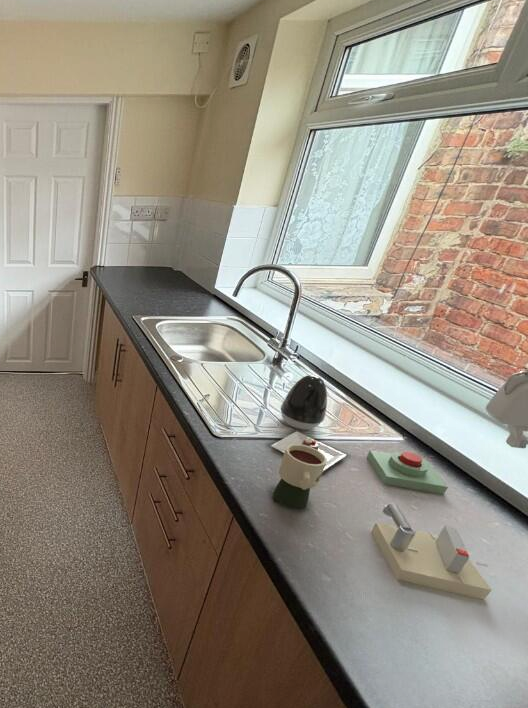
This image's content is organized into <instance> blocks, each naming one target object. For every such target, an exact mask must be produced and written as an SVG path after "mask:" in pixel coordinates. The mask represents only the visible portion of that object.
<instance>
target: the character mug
mask: <svg viewBox="0 0 528 708" xmlns="http://www.w3.org/2000/svg"><path fill="white" fill-rule="evenodd" d="M326 462H327V458H326V457H325V455H324V454H322V453H321V452H320V451H318V450H316V449H314V448H312V447H309V446H306V445H301V444H293V445H289V446H288V447H287V448H286V450H285V453H283V456H282V459H281V462H280V465H279V469H278V475H279V477H280V480H279V481H278V483H277V485H276V486H275V488H274V490H273V492H272V499H273V500H275V501H276V502H277V504H280V505H283V506H284V507H287V508H290V509H293V510H302V509H306V508H307V506H308V501H309V497H310V492H311V491H310V490H311V489H312V488H315V487H317V486H318V485H319V484H320V480H321V477H322V474H323V473H324V471H325V470H324V468H325V465H326Z"/></svg>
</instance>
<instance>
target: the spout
mask: <svg viewBox="0 0 528 708" xmlns="http://www.w3.org/2000/svg"><path fill="white" fill-rule="evenodd" d="M382 512H383V514H385V515H386V516H387V517H389V518H391V519H392V521H393V522H394V525H395V526H397V527H398V530H397V532H396V533H395V535H394V537H393V539H392V541H391V542H390V544H391V546H392V547H393V548H394V549H396V550H398V551H406V549H407V547H408V546H409V544H410V542H411V541H412V539H413V537H414V535H415V534H416V531H417V530H416V531H415V529H414V528H413V527H412V526H411V525H410V523H409V521H408V520H407V518H406V517H405V515H404V513H403V512H402V510H401V508H400V507H399V506H398V505H397V504H395V503H389V504H386V505H384V507H383V509H382Z"/></svg>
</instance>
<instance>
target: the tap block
mask: <svg viewBox="0 0 528 708" xmlns="http://www.w3.org/2000/svg"><path fill="white" fill-rule="evenodd" d="M397 530H398V527H397V526H396V525H392V524H386V523H382V522H375V523H374V525H373V527H372V529H371V533H372V535H373V538H374V540H375V541H376V543H377V545H378V547H379V549H380V551H381V553H382V555H383V557H384V559H385V560H386V562H387V564H388V566H389V568H390V570H391V572H392V574H393V576H394V578H395V579H396V580H399V581H402V582H407V583H412V584H415V585H420V586H423V587H428V588H432V589H437V590H441V591H445V592H449V593H454V594H458V595H462V596H467V597H471V598H474V599H475V598H476V599H479V600H486V598H487V597H488V595H489V594H490V593H491V592H492V589H491V587H490V586H489V585H488V583H487V582H486V580H485V579H484V578H483V576H482V575H481V573H480V572H479V570H478V569H477V568H476V567H475V565H474V564H473V563H472V561H471V560H470V558H469V559H468V561H467V562H466V564H465V565H464V567H463V568H462V570H461V571H460V573H459V574H457V573H454V572H451V571H448V570H446V568H445V565H444V562H443V560H442V557H441V554H440V552H439V549H438V546H437V544H436V539H437V538H438V536H439V534H435V533H433V532H432V531H428V532H426V531H421V530H415V529H414V530H415V531H416V534H415V535H414V537H413V539H412V541H411V542H410V544H409V546H408V547H407V549H406V551H398V550H396V549H394V548H393V547H392V546H391V544H390V542H391V541H392V539H393V537H394V535H395V533H396V532H397ZM476 565H479V566H484V567H489V565H488V564H487V563H483V562H478V561H476Z"/></svg>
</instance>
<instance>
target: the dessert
mask: <svg viewBox="0 0 528 708" xmlns="http://www.w3.org/2000/svg"><path fill="white" fill-rule="evenodd" d="M293 444H301V445H306V446H309V447H312V448H314V449H316V450H318V451H320V452H321V453H322V454H324V455H325V457H326V458H327V462H326V465H325V468H324V471H326V470H328V469H329V468H330V467H332V466H333V465H335V464H336V463H338V462H340V461H341V460H342V459H344V458H345V457H346V456H347V454H346V453H343V452H342V451H339V450H337V449H335V448H333V447H332V446H329V445H327V444H325V443H322V442H321V441H318V440H317V439H315V438H314V437H310V436H308V435H306V434H304V433H302V432H300V431H298V430H296V431H294V432H293V433H291V434H289V435H287V436H285V437H284V438H281V439H280V440H278V441H277V442H275V443H273V444H271V445H270V446H271V447H272V448H273V449H276V450H277V451H279V452H281V453H283V454H284V453H285V450H286V448H287V447H288V446H289V445H293Z"/></svg>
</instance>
